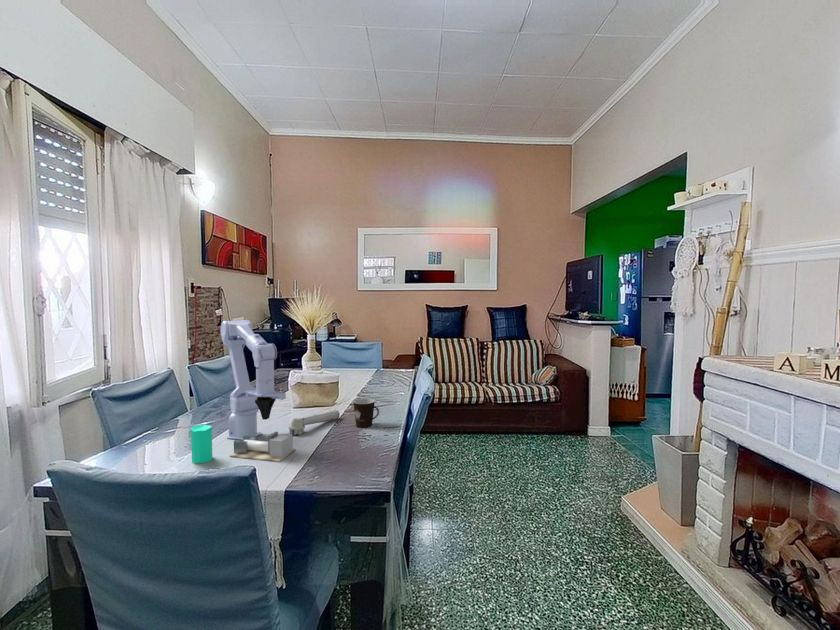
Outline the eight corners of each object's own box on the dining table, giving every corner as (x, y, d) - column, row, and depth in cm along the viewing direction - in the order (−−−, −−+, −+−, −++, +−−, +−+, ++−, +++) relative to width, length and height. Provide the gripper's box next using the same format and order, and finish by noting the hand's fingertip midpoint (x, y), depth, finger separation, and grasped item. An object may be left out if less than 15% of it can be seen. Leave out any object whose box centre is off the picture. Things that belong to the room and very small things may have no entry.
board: (229, 456, 133) (229, 455, 133) (249, 445, 143) (249, 444, 143) (278, 462, 129) (278, 460, 129) (295, 450, 138) (295, 448, 138)
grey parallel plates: (233, 452, 135) (233, 441, 135) (245, 446, 141) (245, 435, 140) (245, 454, 134) (245, 442, 134) (256, 447, 140) (256, 436, 139)
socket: (269, 456, 131) (269, 440, 131) (281, 449, 138) (280, 433, 137) (281, 458, 130) (281, 441, 130) (292, 450, 137) (292, 434, 136)
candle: (189, 459, 131) (188, 422, 130) (209, 454, 135) (208, 418, 134) (194, 465, 126) (193, 427, 126) (215, 459, 131) (214, 422, 130)
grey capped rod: (341, 410, 173) (296, 417, 151) (340, 426, 173) (294, 435, 151) (332, 408, 176) (286, 415, 154) (330, 424, 175) (285, 433, 154)
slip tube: (241, 451, 135) (240, 433, 135) (248, 447, 139) (248, 429, 139) (278, 455, 132) (278, 436, 132) (285, 450, 136) (285, 432, 136)
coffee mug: (350, 424, 166) (350, 399, 166) (370, 421, 170) (370, 397, 170) (359, 432, 156) (359, 406, 156) (380, 429, 160) (380, 404, 160)
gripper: (239, 380, 137) (239, 420, 138) (276, 383, 133) (277, 424, 134) (252, 376, 144) (253, 414, 145) (289, 378, 140) (289, 417, 141)
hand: (265, 418), depth 140 cm, fingers closed
